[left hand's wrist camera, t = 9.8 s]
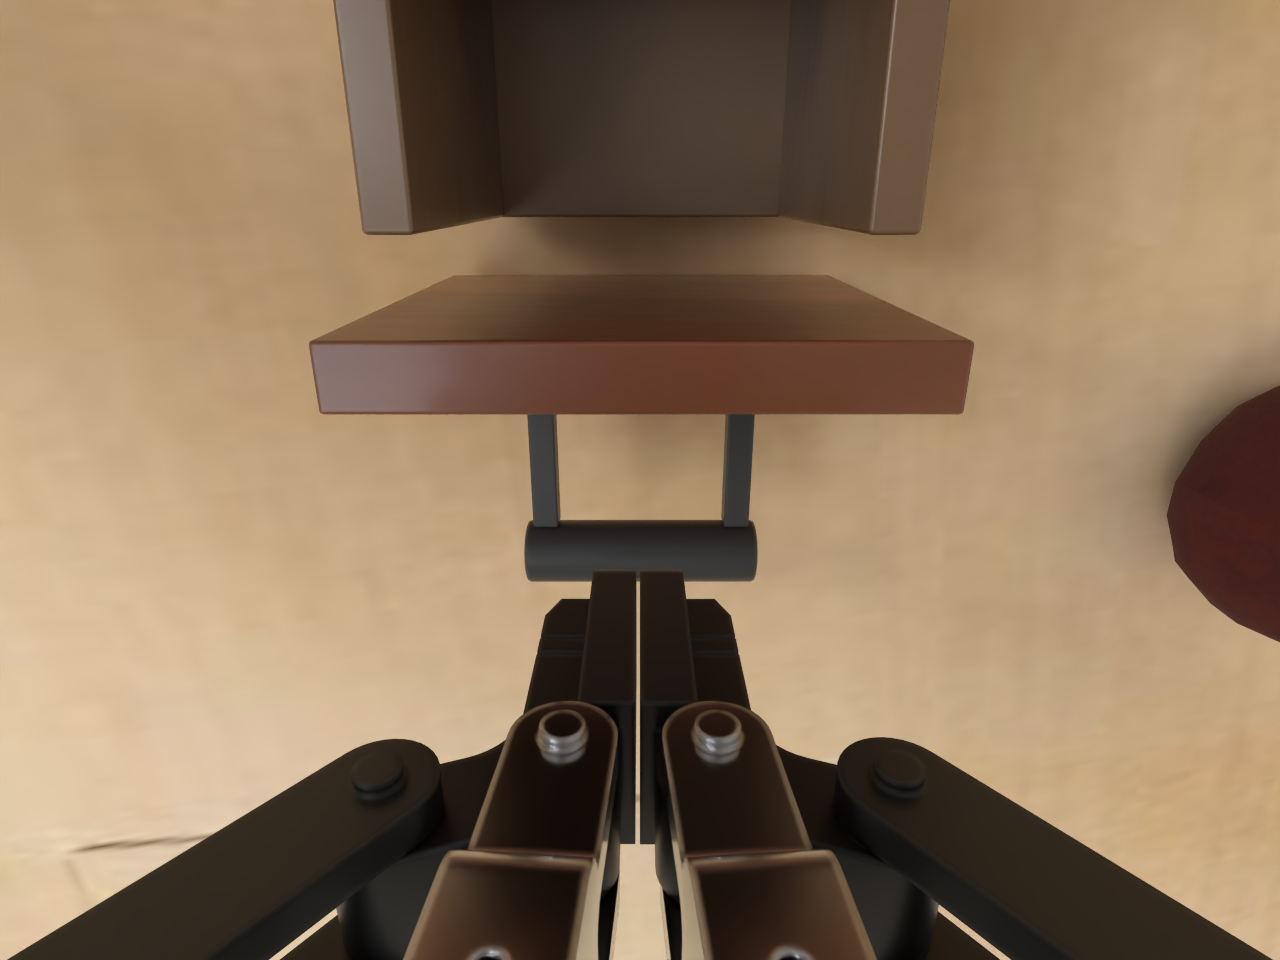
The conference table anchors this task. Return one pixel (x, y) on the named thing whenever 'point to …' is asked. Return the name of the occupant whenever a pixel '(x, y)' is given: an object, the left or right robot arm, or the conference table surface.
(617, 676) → the left robot arm
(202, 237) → the conference table surface
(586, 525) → the drawer
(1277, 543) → the dark maroon ball
